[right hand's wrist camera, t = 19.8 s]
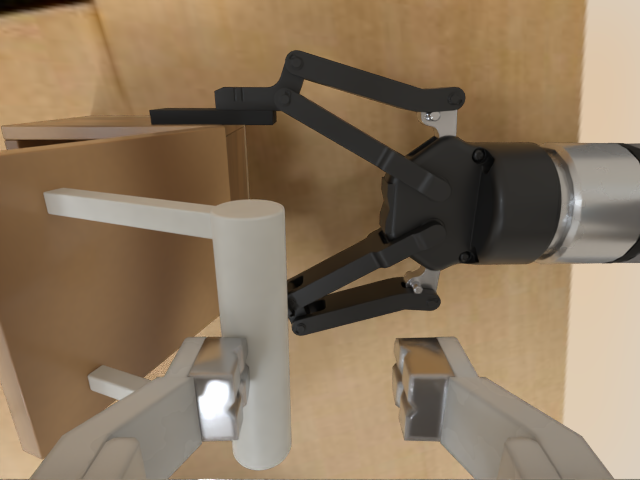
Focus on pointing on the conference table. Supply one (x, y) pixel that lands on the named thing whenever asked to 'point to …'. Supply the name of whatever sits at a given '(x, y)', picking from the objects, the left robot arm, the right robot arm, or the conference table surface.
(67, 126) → the chest
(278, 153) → the conference table surface
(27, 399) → the lid
